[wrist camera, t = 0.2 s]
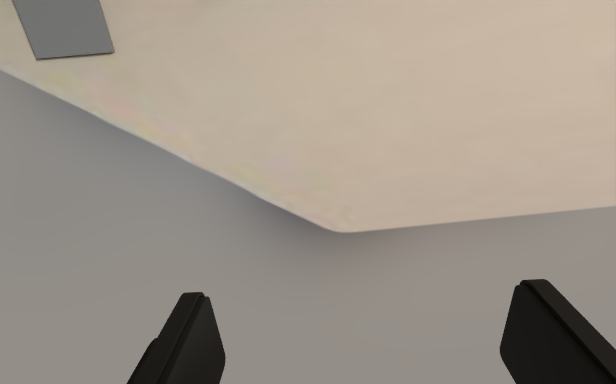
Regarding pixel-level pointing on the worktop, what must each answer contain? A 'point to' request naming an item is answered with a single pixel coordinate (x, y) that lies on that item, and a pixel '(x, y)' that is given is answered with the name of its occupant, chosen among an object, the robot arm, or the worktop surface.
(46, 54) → the coaster
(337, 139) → the worktop surface
